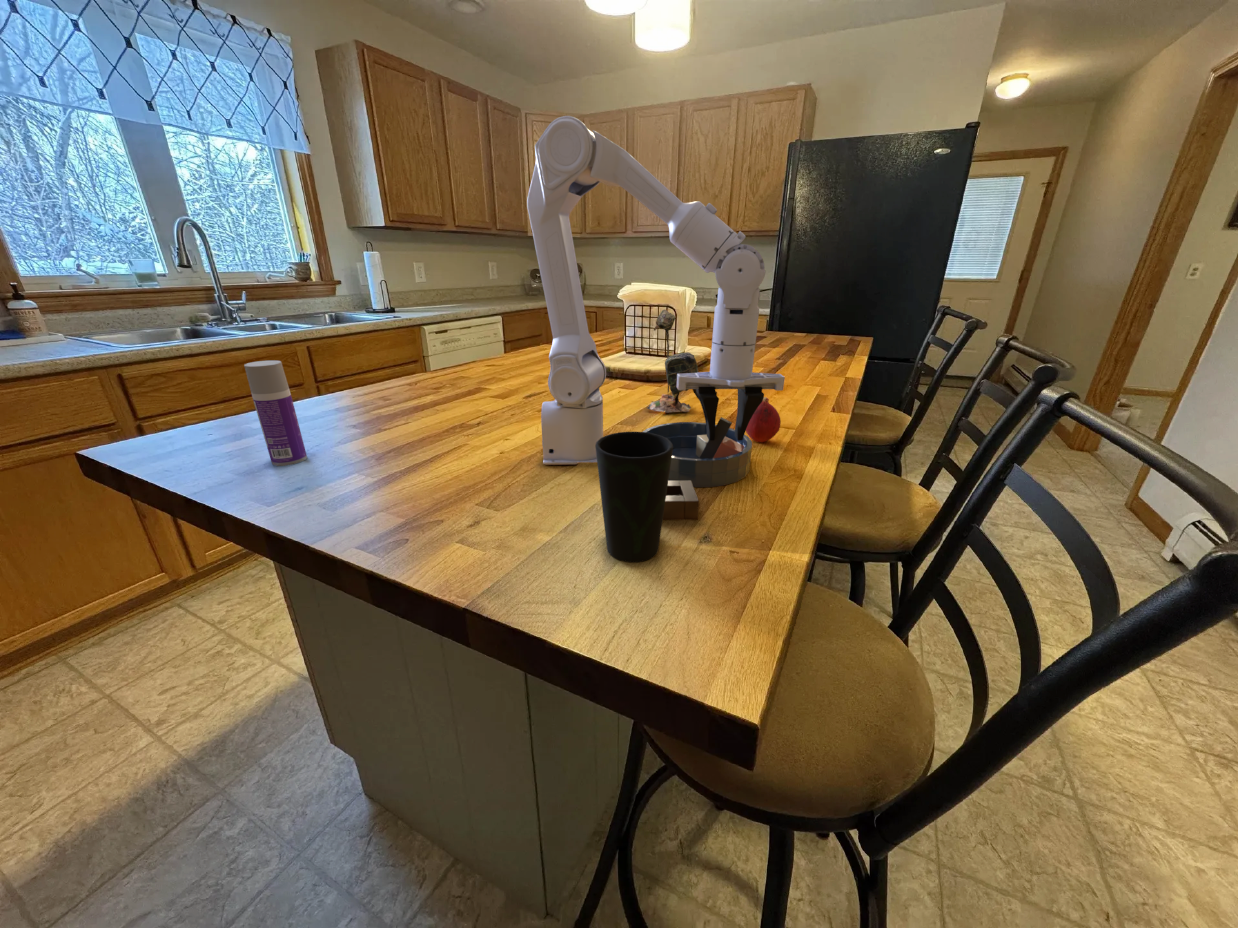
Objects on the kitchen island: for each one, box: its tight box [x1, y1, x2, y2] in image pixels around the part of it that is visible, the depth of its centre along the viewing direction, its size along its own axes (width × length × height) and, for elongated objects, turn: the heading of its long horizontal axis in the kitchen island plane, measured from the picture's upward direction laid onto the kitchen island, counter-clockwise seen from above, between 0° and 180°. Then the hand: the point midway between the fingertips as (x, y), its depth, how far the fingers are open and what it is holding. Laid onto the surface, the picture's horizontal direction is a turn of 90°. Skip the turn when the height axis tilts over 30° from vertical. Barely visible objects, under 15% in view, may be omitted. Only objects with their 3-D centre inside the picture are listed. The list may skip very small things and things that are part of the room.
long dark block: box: [699, 416, 733, 459], centre depth 72 cm, size 2×2×7 cm
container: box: [244, 359, 308, 467], centre depth 73 cm, size 5×5×15 cm
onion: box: [745, 396, 782, 444], centre depth 82 cm, size 6×6×8 cm
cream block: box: [696, 434, 709, 458], centre depth 75 cm, size 3×3×3 cm
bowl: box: [642, 421, 753, 488], centre depth 73 cm, size 16×16×4 cm
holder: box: [663, 480, 700, 521], centre depth 60 cm, size 6×6×3 cm
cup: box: [595, 431, 673, 563], centre depth 51 cm, size 8×8×12 cm
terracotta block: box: [713, 436, 745, 458], centre depth 71 cm, size 3×3×3 cm
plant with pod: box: [646, 309, 700, 414], centre depth 97 cm, size 8×11×20 cm
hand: (724, 438), depth 71 cm, fingers open, 3 cm apart
